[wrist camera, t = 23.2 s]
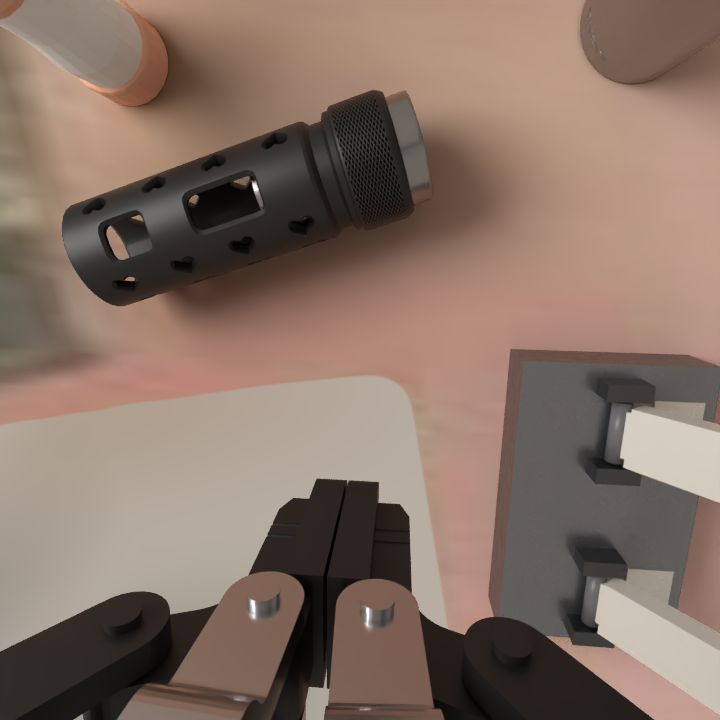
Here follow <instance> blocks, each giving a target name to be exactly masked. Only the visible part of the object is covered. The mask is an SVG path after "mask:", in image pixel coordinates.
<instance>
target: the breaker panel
mask: <svg viewBox="0 0 720 720" xmlns="http://www.w3.org/2000/svg"><path fill="white" fill-rule="evenodd" d="M719 389H720V367H719V366H717V365H714V364H711V363H708V362H706V361H703V360H700V359H697V358H695V357H692V356H689V355H669V354H639V353H608V352H577V351H546V350H516V349H511V350H510V361H509V372H508V383H507V395H506V406H505V417H504V428H503V439H502V451H501V462H500V473H499V484H498V495H497V506H496V518H495V529H494V540H493V551H492V562H491V573H490V585H489V600H490V604H491V608H492V612H493V615H494V617H506V618H511V619H515V620H519V621H521V622H524V623H526V624H528V625H530V626H532V627H534V628H535V629H536V630H538V631H539V632H541V633H542V634H543V635H545V636H557V637H570V639H571V642H572V644H573V645H581V646H594V647H607V648H614V644H613V643H611V642H610V641H608V640H607V639H605V638H604V637H602V636H601V635H599V634H598V633H597V632H598V627H597V628H593V627H589V626H587V625H585V624H584V623H583V622H582V620H581V615H582V608H583V601H584V594H585V586H586V579H587V576H592V577H607V580H608V581H610V580H612V579H613V578H621V579H623V580H625V581H626V582H628V583H630V584H632V585H634V586H636V587H637V588H639V589H641V590H643V591H645V592H646V593H648V594H650V595H652V596H654V597H655V598H657V599H659V600H661V601H663V602H664V603H666V604H668V605H670V606H672V607H674V608H675V609H677V607H678V601H679V596H680V591H681V586H682V581H683V576H684V570H685V565H686V560H687V555H688V550H689V545H690V539H691V534H692V529H693V524H694V519H695V514H696V508H697V503H698V498H699V495H697V494H694V493H691V492H689V491H686V490H683V489H680V488H678V487H675V486H672V485H669V484H667V483H664V482H661V481H658V480H656V479H653V478H650V477H648V476H645V475H642V474H639V473H637V472H634V471H631V470H628V469H626V468H623V465H624V464H622V465H617V464H612V463H609V462H607V461H605V460H604V455H605V448H606V441H607V434H608V427H609V420H610V413H611V406H612V402H627V403H634V408H637V407H640V406H643V405H646V406H650V407H654V408H658V409H661V410H665V411H669V412H673V413H677V414H681V415H685V416H689V417H693V418H697V419H701V420H704V421H708V422H712V423H713V420H714V415H715V410H716V405H717V400H718V395H719ZM634 408H633V409H634Z"/></svg>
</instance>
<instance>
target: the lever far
mask: <svg viewBox="0 0 720 720" xmlns="http://www.w3.org/2000/svg"><path fill="white" fill-rule="evenodd" d="M581 620H582V622H583V623H584V624H585V625H587V626H589V627H593V628H597V627H598V632H597V633H598V634H599V635H601V636H602V637H604V638H605V639H607V640H608V641H610V642H611V643H613V644H614V645H616V646H617V647H619V648H620V649H622V650H623V651H625V652H626V653H628V654H629V655H631V656H632V657H634V658H635V659H637V660H638V661H640V662H641V663H643V664H644V665H646V666H647V667H649V668H650V669H652V670H653V671H655V672H656V673H658V674H659V675H661V676H662V677H664V678H665V679H667V680H668V681H670V682H671V683H673V684H674V685H676V686H677V687H678V688H680V689H681V690H683V691H684V692H686V693H687V694H689V695H690V696H692V697H693V698H695V699H696V700H698V701H699V702H701V703H702V704H704V705H705V706H707V707H708V708H710V709H711V710H713V711H714V712H716V713H717V714H719V715H720V633H719V632H717V631H715V630H713V629H712V628H710V627H708V626H706V625H704V624H703V623H701V622H699V621H697V620H695V619H693V618H692V617H690V616H688V615H686V614H684V613H683V612H681V611H679V610H677V609H675V608H674V607H672V606H670V605H668V604H666V603H664V602H663V601H661V600H659V599H657V598H655V597H654V596H652V595H650V594H648V593H646V592H645V591H643V590H641V589H639V588H637V587H636V586H634V585H632V584H630V583H628V582H626V581H625V580H623V579H621V578H613V579H612V580H610V581H608V580H607V577H592V576H587V579H586V586H585V594H584V601H583V608H582V615H581Z"/></svg>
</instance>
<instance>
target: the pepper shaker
mask: <svg viewBox="0 0 720 720" xmlns="http://www.w3.org/2000/svg"><path fill="white" fill-rule="evenodd" d="M0 26H1V27H3V28H5V29H7V30H8V31H10V32H12V33H14V34H15V35H17V36H19V37H21V38H22V39H24V40H25V41H27V42H28V43H29V44H30V45H32V46H33V47H34V48H35V49H36V50H38V51H39V52H40V53H41V54H43V55H44V56H45V57H46V58H47V59H49V60H50V61H51V62H52V63H54V64H55V65H56V66H57V67H59V68H60V69H62V70H64V71H66V72H68V73H70V74H72V75H74V76H76V77H77V78H78V79H79V80H80V81H81V82H82V83H83V84H85V85H86V86H87V87H88V88H89V89H91V90H93V91H95V92H97V93H99V94H101V95H103V96H105V97H107V98H109V99H110V100H113V101H115V102H117V103H119V104H121V105H125V106H139V105H142V104H146V103H148V102H149V101H151V100H152V99H153V98H155V97H156V96H157V95H158V93H159V92H160V91H161V89H162V88H163V86H164V84H165V81H166V77H167V74H168V55H167V52H166V48H165V44H164V42H163V40H162V39H161V37H160V35H159V34H158V32H157V31H156V30H155V29H154V28H153V27H152V26H151V25H150V24H149V23H148V22H147V21H146V20H144V19H143V18H142V17H141V16H140V15H139V14H138V13H137V12H136V11H134V10H133V9H132V8H131V7H130V6H129V5H128V4H127V3H125V2H123V1H121V0H0Z"/></svg>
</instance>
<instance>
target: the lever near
mask: <svg viewBox="0 0 720 720" xmlns="http://www.w3.org/2000/svg"><path fill="white" fill-rule="evenodd" d="M633 408H634V403H627V402H612V406H611V413H610V420H609V427H608V434H607V441H606V448H605V455H604V460H605V461H607V462H609V463H612V464H617V465H622V464H624V465H623V468H626V469H628V470H631V471H634V472H637V473H639V474H642V475H645V476H648V477H650V478H653V479H656V480H658V481H661V482H664V483H667V484H669V485H672V486H675V487H678V488H680V489H683V490H686V491H689V492H691V493H694V494H697V495H699V496H702V497H705V498H708V499H710V500H713V501H716V502H719V503H720V424H716V423H712V422H708V421H704V420H701V419H697V418H693V417H689V416H685V415H681V414H677V413H673V412H669V411H665V410H661V409H658V408H654V407H650V406H646V405H643V406H640V407H637V408H634V409H633Z"/></svg>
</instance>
